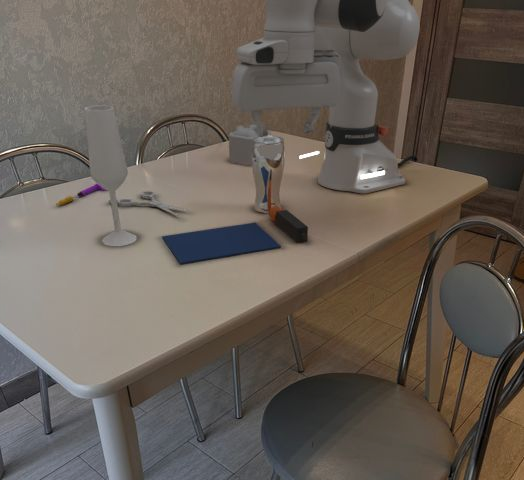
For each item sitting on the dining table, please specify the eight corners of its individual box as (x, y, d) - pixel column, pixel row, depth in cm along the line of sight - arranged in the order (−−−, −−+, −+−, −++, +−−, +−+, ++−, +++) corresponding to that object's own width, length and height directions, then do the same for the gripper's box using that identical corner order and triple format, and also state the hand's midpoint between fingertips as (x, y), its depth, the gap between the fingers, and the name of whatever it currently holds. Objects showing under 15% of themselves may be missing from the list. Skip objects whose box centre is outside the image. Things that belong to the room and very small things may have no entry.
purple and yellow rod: (101, 185, 131) (55, 206, 120) (101, 180, 131) (55, 201, 119) (110, 189, 131) (65, 210, 119) (110, 184, 130) (65, 205, 118)
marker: (268, 220, 114) (268, 206, 112) (281, 218, 115) (281, 204, 113) (297, 245, 104) (298, 230, 102) (310, 242, 105) (311, 228, 103)
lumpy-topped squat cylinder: (224, 161, 150) (223, 129, 146) (247, 151, 160) (247, 120, 155) (256, 167, 146) (256, 133, 141) (278, 156, 156) (279, 124, 151)
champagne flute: (137, 244, 103) (118, 111, 89) (101, 247, 102) (77, 112, 88) (136, 231, 108) (119, 103, 95) (102, 233, 107) (80, 104, 93)
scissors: (143, 188, 128) (204, 206, 118) (143, 191, 128) (205, 209, 118) (108, 200, 121) (170, 220, 111) (108, 203, 121) (170, 223, 111)
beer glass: (245, 207, 120) (245, 138, 112) (269, 201, 124) (270, 133, 115) (265, 216, 116) (266, 144, 107) (289, 209, 119) (291, 139, 111)
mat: (255, 224, 112) (255, 222, 112) (280, 247, 102) (281, 245, 102) (162, 238, 106) (162, 236, 106) (180, 264, 96) (179, 262, 96)
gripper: (333, 47, 98) (326, 127, 106) (228, 49, 91) (229, 134, 99) (350, 51, 93) (342, 134, 101) (240, 52, 86) (241, 142, 94)
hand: (285, 134), depth 100 cm, fingers open, 8 cm apart
